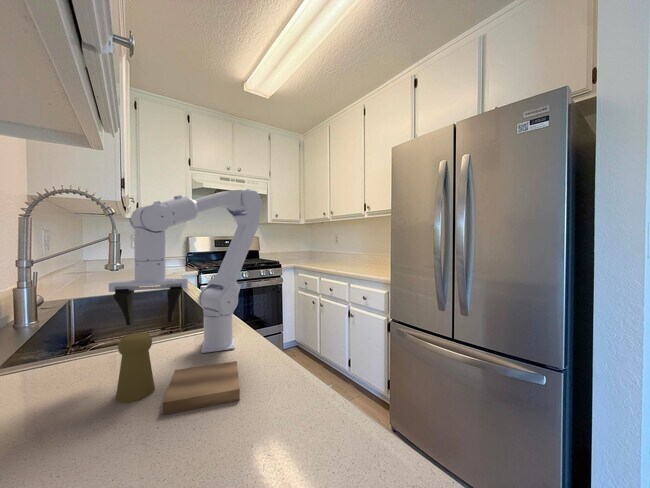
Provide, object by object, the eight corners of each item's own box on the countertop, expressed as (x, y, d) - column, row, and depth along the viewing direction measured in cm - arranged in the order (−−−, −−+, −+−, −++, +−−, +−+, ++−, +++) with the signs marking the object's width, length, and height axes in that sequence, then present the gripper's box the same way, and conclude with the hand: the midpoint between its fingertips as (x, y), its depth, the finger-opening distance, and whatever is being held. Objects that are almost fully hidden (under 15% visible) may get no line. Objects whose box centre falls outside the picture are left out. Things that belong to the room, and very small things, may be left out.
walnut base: (175, 379, 56) (174, 370, 56) (236, 370, 60) (236, 361, 60) (162, 415, 44) (162, 402, 44) (239, 400, 49) (239, 388, 49)
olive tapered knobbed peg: (135, 404, 47) (134, 341, 47) (106, 400, 48) (106, 338, 48) (162, 386, 53) (162, 330, 53) (136, 383, 54) (136, 328, 54)
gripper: (102, 262, 53) (102, 331, 54) (185, 260, 59) (185, 323, 59) (115, 260, 60) (115, 321, 60) (188, 258, 65) (188, 315, 65)
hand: (150, 322), depth 60 cm, fingers open, 7 cm apart
